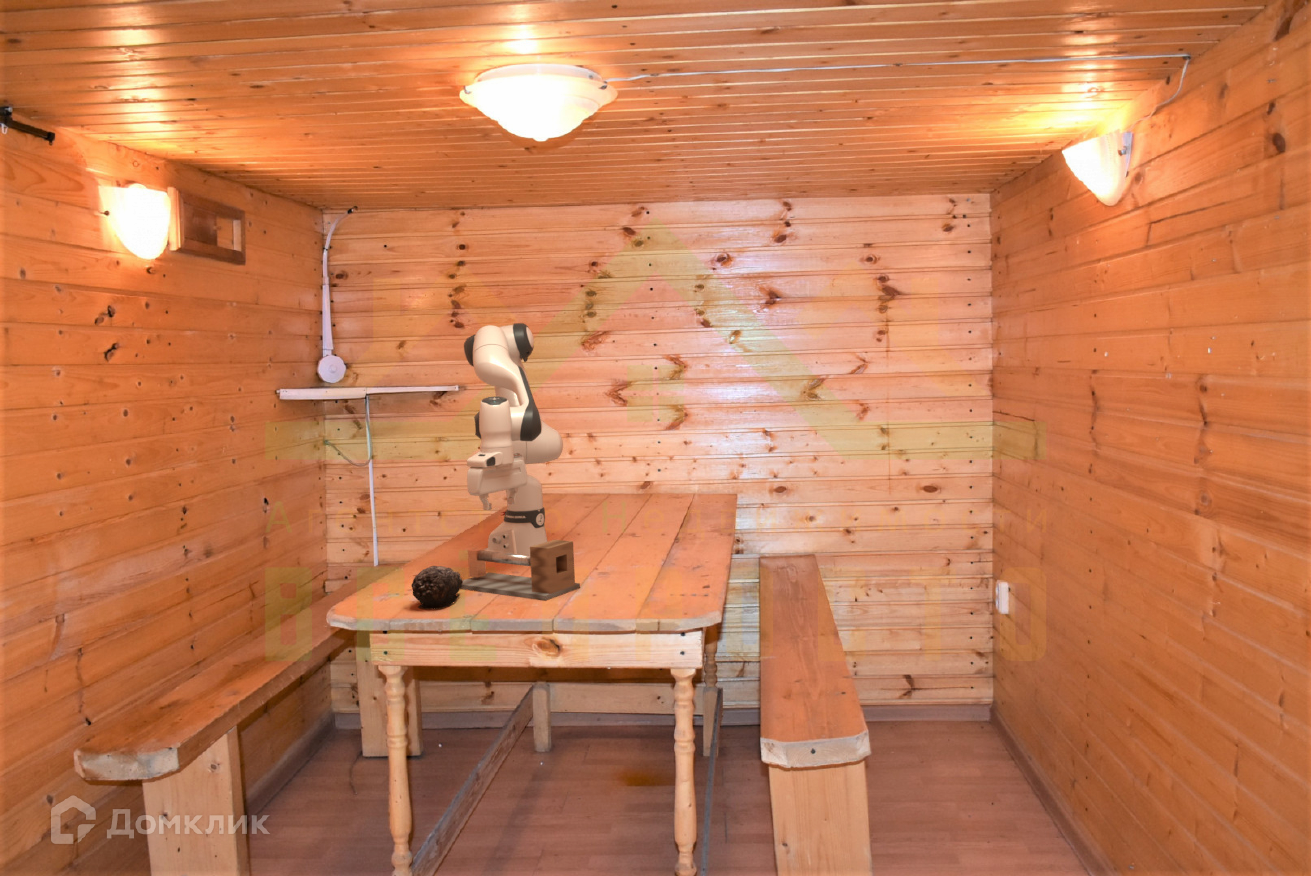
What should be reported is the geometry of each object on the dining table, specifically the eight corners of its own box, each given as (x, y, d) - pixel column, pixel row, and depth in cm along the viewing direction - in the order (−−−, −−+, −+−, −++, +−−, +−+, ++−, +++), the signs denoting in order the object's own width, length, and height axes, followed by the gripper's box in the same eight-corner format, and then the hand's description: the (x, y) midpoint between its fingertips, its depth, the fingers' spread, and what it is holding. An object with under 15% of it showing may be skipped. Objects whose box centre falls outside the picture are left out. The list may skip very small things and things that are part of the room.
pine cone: (468, 593, 242) (465, 555, 241) (449, 611, 224) (447, 570, 223) (428, 594, 243) (426, 556, 242) (407, 612, 225) (404, 571, 224)
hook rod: (469, 576, 252) (467, 550, 251) (477, 573, 255) (476, 548, 254) (528, 583, 240) (527, 556, 240) (536, 581, 243) (535, 554, 243)
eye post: (452, 587, 248) (450, 540, 247) (489, 576, 260) (486, 531, 259) (545, 600, 231) (543, 550, 230) (580, 587, 242) (577, 539, 241)
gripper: (514, 451, 263) (516, 499, 265) (462, 460, 246) (464, 512, 248) (531, 452, 260) (533, 501, 261) (479, 462, 243) (482, 514, 244)
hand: (499, 506), depth 254 cm, fingers open, 8 cm apart
